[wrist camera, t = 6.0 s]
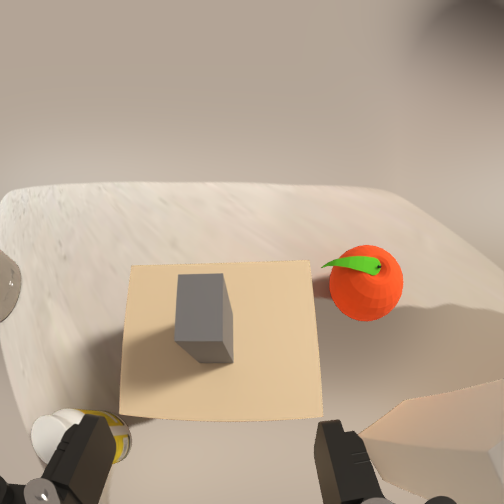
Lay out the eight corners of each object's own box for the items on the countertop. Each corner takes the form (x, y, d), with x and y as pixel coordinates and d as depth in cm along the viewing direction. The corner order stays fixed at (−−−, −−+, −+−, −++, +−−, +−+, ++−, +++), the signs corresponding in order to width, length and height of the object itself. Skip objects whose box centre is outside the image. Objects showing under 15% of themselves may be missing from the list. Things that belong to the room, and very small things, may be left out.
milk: (383, 480, 22) (561, 540, 2) (354, 434, 24) (539, 454, 5) (431, 442, 23) (622, 431, 3) (405, 397, 25) (599, 339, 6)
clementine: (306, 320, 30) (319, 293, 23) (318, 257, 33) (331, 218, 27) (383, 335, 29) (415, 313, 22) (389, 273, 32) (416, 239, 25)
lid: (122, 414, 17) (66, 410, 11) (134, 269, 21) (95, 216, 15) (321, 416, 16) (352, 418, 11) (308, 264, 21) (325, 205, 15)
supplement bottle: (77, 418, 25) (16, 412, 16) (121, 404, 26) (66, 396, 17) (96, 468, 22) (38, 479, 14) (142, 456, 23) (92, 470, 15)
